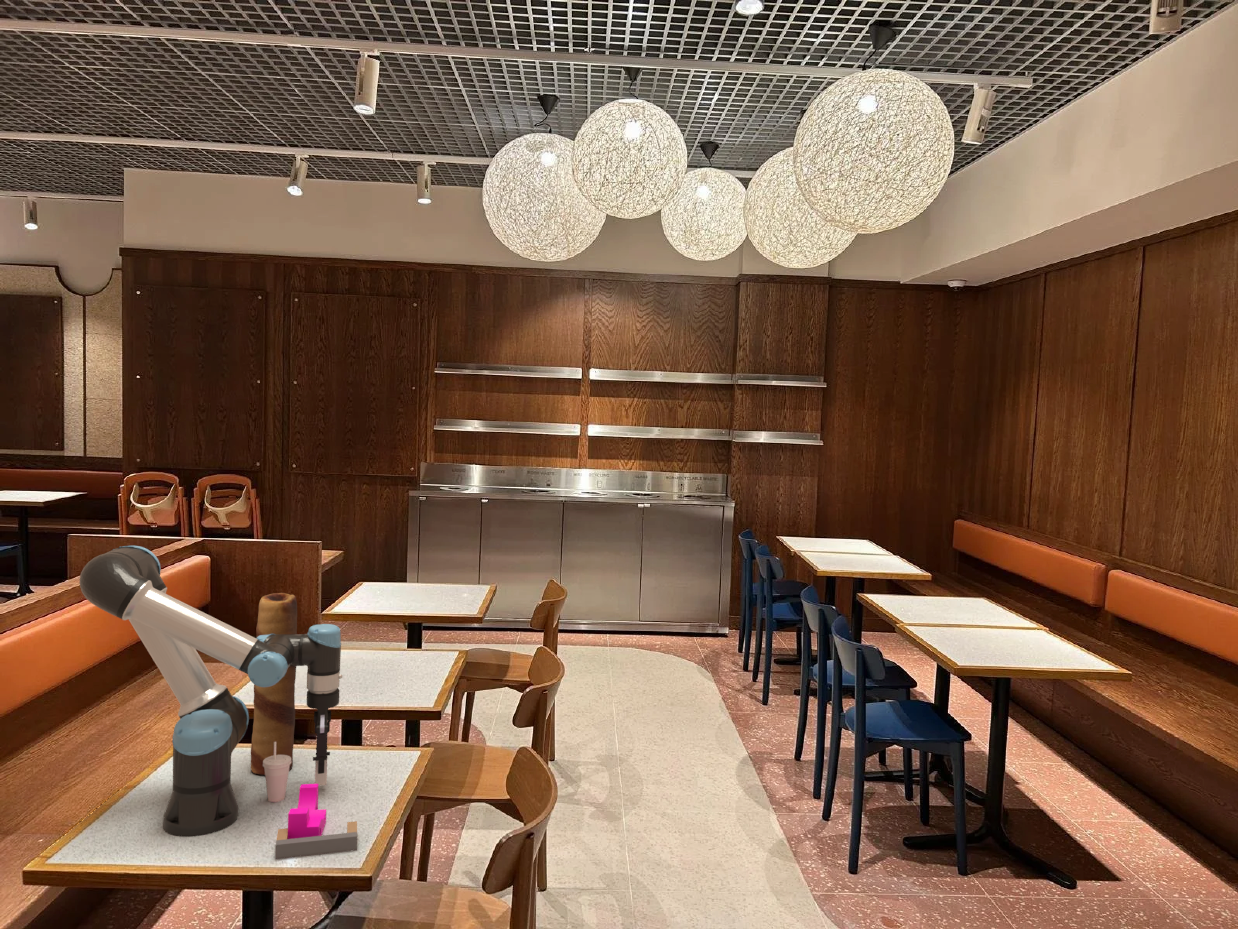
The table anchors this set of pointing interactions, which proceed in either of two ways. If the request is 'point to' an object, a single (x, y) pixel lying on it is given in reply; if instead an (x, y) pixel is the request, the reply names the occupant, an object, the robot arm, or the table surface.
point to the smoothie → (276, 775)
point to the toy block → (306, 814)
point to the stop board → (315, 843)
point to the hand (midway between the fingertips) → (320, 784)
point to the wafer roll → (274, 687)
